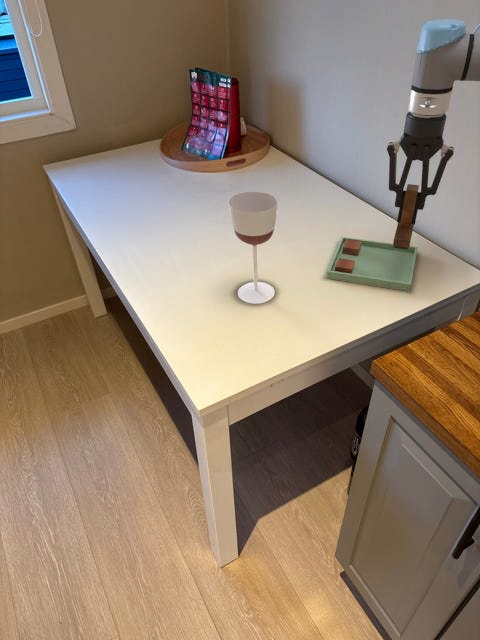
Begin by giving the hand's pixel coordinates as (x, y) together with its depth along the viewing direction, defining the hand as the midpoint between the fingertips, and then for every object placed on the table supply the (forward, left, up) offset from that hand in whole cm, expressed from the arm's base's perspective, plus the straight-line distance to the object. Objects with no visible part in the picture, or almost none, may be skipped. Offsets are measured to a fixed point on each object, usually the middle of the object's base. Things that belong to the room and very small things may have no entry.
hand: (406, 220), depth 110 cm
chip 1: (+12, -5, -13) cm, 18 cm away
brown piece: (0, 0, -4) cm, 4 cm away
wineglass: (+30, +19, -13) cm, 38 cm away
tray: (+6, 0, -13) cm, 14 cm away
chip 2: (+12, +5, -13) cm, 18 cm away
